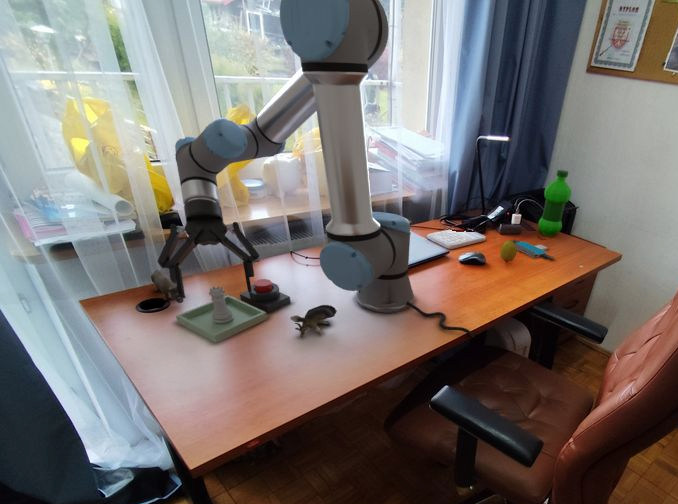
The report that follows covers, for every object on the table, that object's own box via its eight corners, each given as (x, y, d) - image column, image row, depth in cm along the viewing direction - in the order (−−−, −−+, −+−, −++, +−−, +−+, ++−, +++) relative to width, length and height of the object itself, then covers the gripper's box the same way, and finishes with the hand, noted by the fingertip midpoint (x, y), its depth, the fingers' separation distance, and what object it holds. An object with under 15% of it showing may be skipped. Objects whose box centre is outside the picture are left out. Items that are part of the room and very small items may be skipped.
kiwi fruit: (516, 262, 145) (521, 240, 141) (510, 267, 141) (514, 244, 137) (502, 258, 147) (506, 236, 143) (495, 262, 143) (499, 240, 139)
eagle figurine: (319, 341, 92) (344, 318, 98) (299, 315, 89) (326, 293, 95) (301, 345, 97) (325, 323, 103) (281, 321, 94) (307, 300, 100)
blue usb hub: (563, 257, 154) (565, 253, 153) (542, 262, 148) (543, 258, 147) (525, 239, 167) (526, 235, 166) (504, 243, 160) (504, 239, 159)
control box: (290, 303, 107) (289, 289, 104) (268, 313, 102) (266, 299, 99) (263, 291, 110) (261, 277, 108) (240, 301, 105) (238, 286, 103)
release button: (276, 289, 105) (274, 282, 104) (262, 294, 102) (261, 287, 101) (265, 284, 106) (263, 277, 105) (251, 289, 103) (250, 282, 102)
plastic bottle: (564, 238, 173) (581, 174, 159) (542, 238, 170) (557, 173, 156) (553, 229, 181) (568, 168, 167) (531, 229, 178) (545, 167, 164)
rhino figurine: (174, 311, 98) (167, 288, 95) (152, 290, 105) (144, 268, 102) (192, 306, 101) (186, 284, 97) (169, 286, 108) (163, 264, 104)
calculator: (425, 238, 156) (425, 233, 155) (462, 230, 168) (463, 225, 167) (449, 250, 148) (450, 245, 147) (486, 240, 161) (487, 236, 159)
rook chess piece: (237, 316, 99) (231, 285, 94) (227, 325, 95) (220, 294, 91) (219, 313, 99) (212, 283, 94) (208, 323, 95) (200, 291, 91)
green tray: (267, 319, 100) (266, 312, 99) (216, 343, 90) (214, 336, 89) (230, 301, 104) (228, 294, 103) (177, 322, 95) (175, 315, 94)
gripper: (261, 212, 104) (276, 292, 102) (143, 215, 95) (156, 304, 92) (260, 196, 98) (275, 282, 95) (132, 198, 88) (145, 293, 85)
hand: (216, 293), depth 94 cm, fingers open, 13 cm apart
